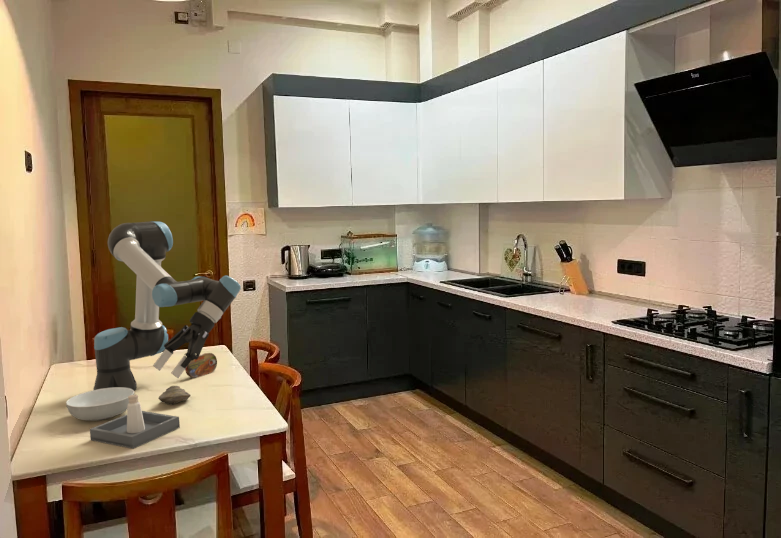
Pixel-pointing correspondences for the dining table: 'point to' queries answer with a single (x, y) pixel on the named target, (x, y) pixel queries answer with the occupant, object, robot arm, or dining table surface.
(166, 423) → the parts tray
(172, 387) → the fossilized seashell
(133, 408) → the salt shaker
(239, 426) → the dining table surface
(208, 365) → the tin
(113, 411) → the serving bowl
